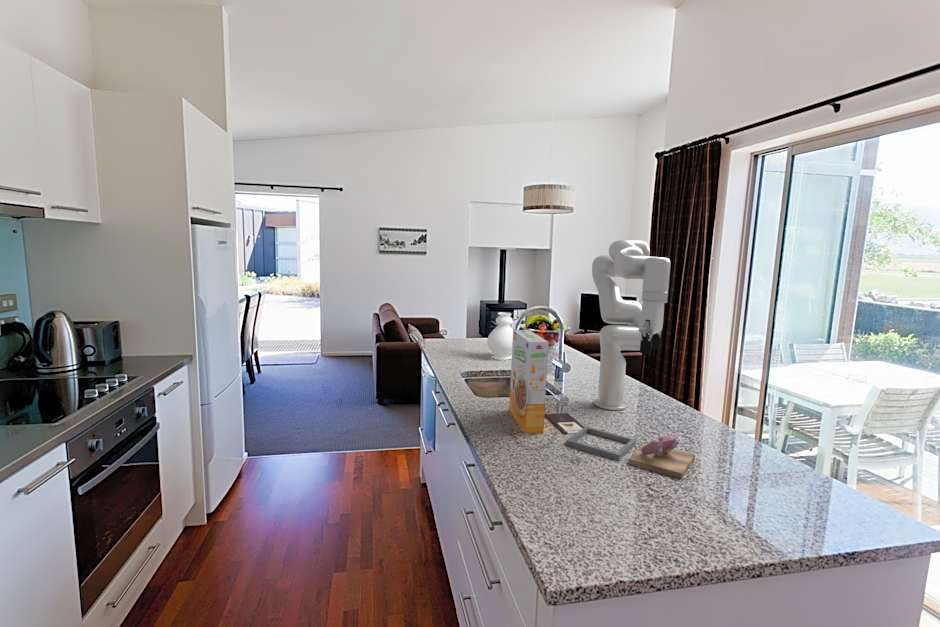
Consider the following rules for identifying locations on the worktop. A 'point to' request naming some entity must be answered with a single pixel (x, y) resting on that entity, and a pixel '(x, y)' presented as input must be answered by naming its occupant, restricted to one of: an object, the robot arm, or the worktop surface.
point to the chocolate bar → (565, 423)
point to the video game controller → (660, 446)
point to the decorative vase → (501, 337)
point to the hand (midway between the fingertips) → (649, 351)
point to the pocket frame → (596, 450)
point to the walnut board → (664, 461)
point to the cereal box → (528, 380)
